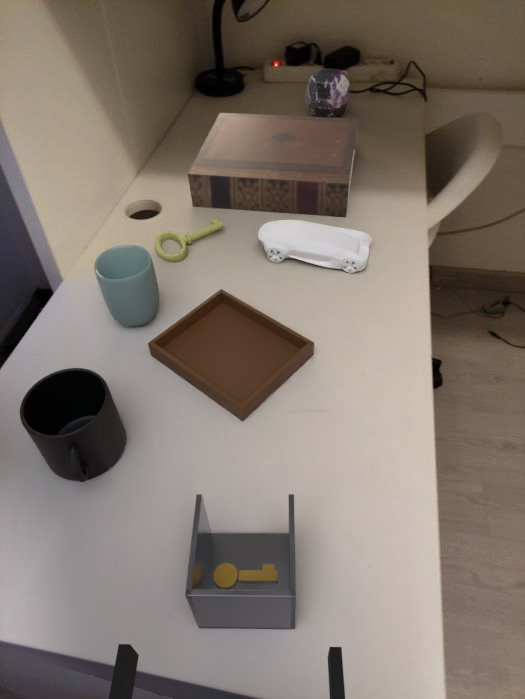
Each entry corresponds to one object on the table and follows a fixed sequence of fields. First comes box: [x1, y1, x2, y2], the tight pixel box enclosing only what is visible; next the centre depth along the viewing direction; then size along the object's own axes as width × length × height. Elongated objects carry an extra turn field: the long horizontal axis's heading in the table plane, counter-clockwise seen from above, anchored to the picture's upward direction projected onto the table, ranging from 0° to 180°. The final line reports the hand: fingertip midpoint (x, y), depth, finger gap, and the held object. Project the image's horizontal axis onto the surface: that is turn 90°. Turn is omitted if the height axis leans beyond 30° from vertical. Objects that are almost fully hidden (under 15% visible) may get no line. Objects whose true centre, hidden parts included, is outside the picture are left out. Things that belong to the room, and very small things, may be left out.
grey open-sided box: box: [184, 493, 297, 630], centre depth 50 cm, size 9×9×9 cm
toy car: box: [257, 219, 373, 274], centre depth 86 cm, size 18×8×4 cm, turn 75°
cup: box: [93, 244, 160, 327], centre depth 76 cm, size 8×8×10 cm
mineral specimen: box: [305, 67, 351, 118], centre depth 119 cm, size 10×10×10 cm
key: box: [154, 217, 224, 263], centre depth 91 cm, size 7×12×2 cm, turn 137°
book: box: [187, 112, 359, 218], centre depth 102 cm, size 24×28×7 cm
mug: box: [19, 367, 127, 483], centre depth 60 cm, size 9×12×9 cm
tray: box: [147, 288, 315, 422], centre depth 72 cm, size 17×14×2 cm
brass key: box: [213, 563, 278, 589], centre depth 52 cm, size 6×2×1 cm, turn 89°
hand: (230, 650), depth 35 cm, fingers open, 13 cm apart
